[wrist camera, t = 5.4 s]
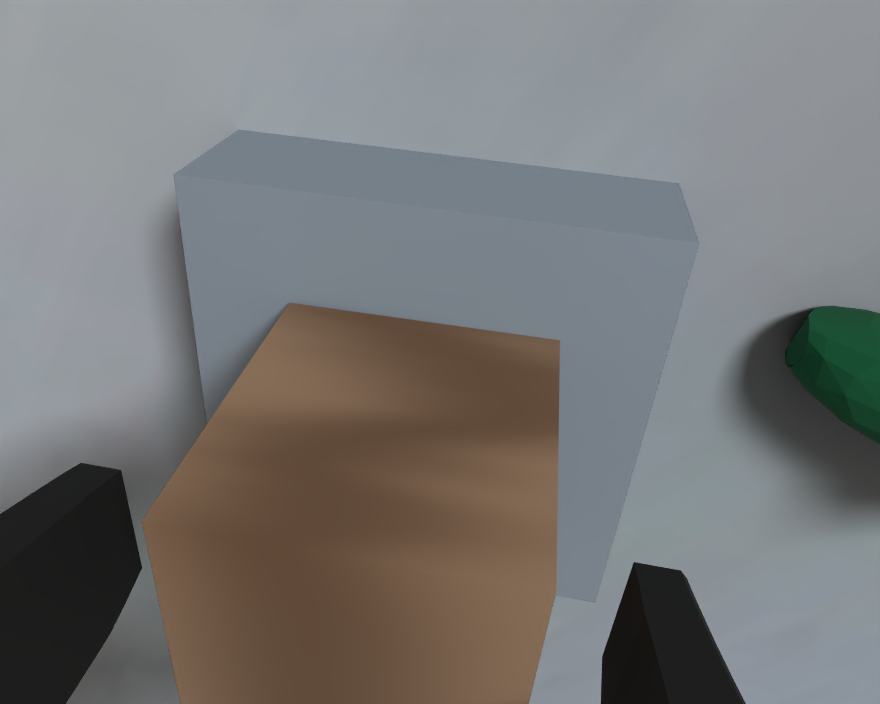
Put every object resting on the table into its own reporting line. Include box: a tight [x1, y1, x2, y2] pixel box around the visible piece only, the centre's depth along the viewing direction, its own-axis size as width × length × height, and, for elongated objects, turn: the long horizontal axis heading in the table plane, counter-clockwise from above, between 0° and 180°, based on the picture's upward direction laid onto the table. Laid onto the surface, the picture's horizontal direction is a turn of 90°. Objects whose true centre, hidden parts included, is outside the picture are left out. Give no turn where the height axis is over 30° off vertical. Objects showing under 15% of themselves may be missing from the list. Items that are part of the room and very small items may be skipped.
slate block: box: [174, 130, 699, 602], centre depth 14 cm, size 8×8×3 cm
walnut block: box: [142, 303, 560, 704], centre depth 11 cm, size 4×4×5 cm
